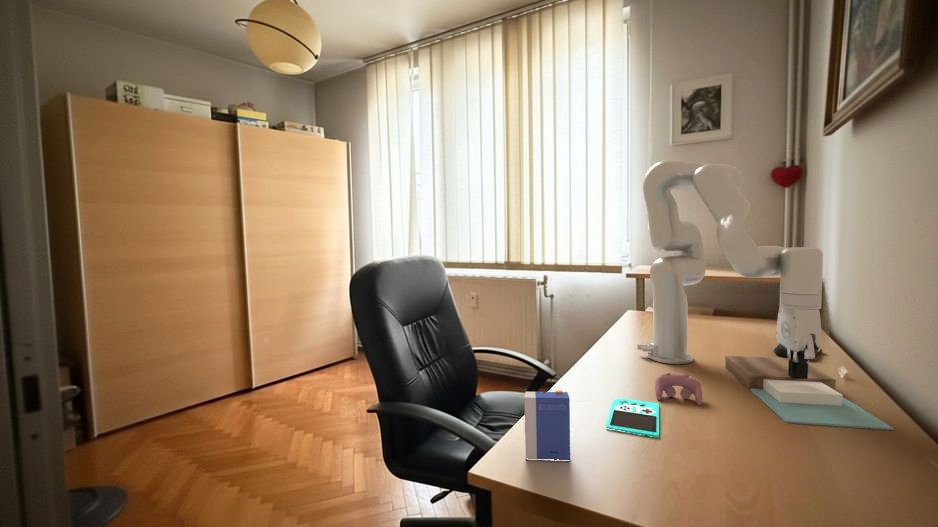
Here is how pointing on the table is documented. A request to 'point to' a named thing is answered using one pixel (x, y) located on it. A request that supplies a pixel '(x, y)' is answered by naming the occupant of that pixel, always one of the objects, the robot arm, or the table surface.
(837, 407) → the mat
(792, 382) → the box
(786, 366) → the brown wooden flat block
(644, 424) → the handheld game console
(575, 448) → the table surface
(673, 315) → the robot arm
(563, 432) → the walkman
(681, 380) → the video game controller
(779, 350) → the carrying case or bag
